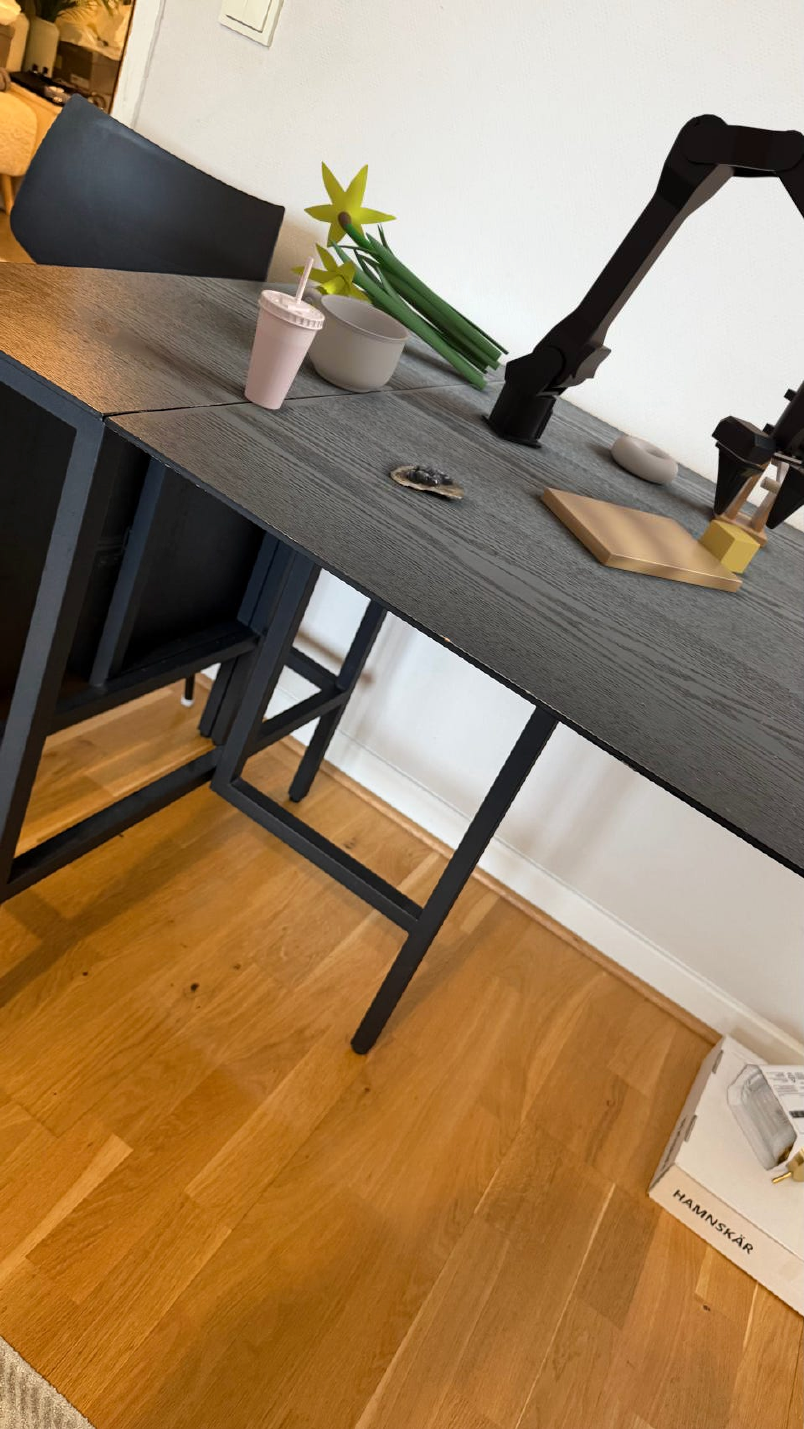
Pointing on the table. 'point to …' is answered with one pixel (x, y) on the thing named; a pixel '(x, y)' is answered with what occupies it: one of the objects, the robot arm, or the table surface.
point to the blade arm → (781, 472)
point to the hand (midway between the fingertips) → (743, 521)
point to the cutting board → (639, 541)
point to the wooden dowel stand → (760, 517)
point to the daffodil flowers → (393, 282)
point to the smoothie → (280, 343)
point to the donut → (644, 460)
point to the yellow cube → (729, 545)
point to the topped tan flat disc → (428, 480)
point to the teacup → (355, 342)
